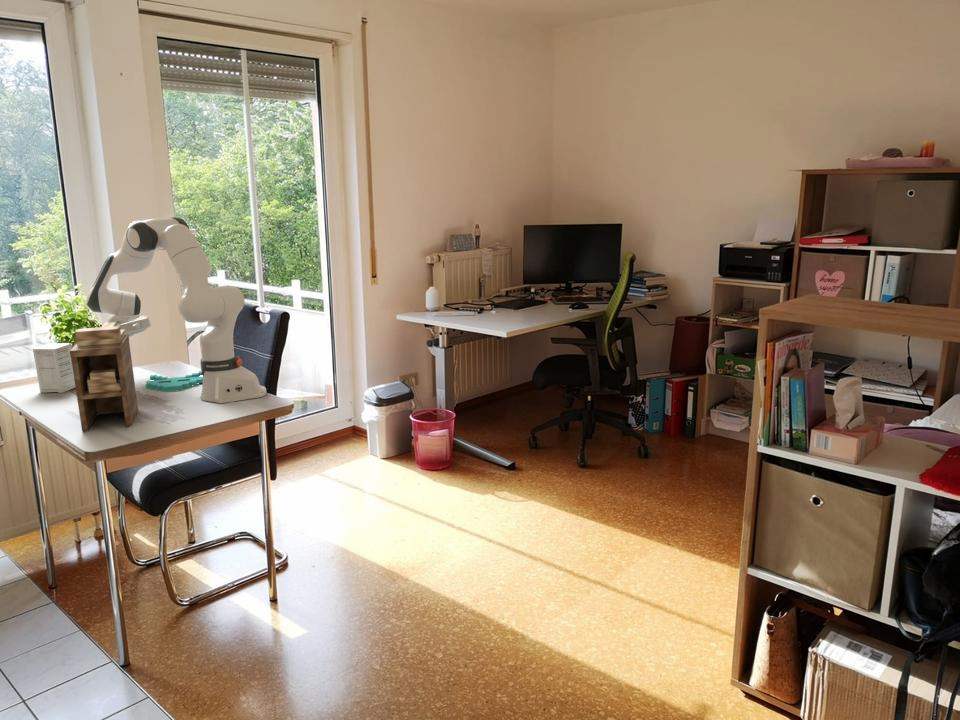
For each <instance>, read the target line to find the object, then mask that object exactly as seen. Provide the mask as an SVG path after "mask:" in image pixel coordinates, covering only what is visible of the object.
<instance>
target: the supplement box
mask: <svg viewBox="0 0 960 720" xmlns="http://www.w3.org/2000/svg"><path fill="white" fill-rule="evenodd" d="M72 348H73V345H72V343H58V342H57V343H56V342H55V343H54V342H51V343H46V344H44V345H40V346H38V347H34V348H32V352H33V358H34V363H35V369H36V374H37V375H36V376H37V381H38V388H39V392H40V393H47V392H58V393H60V394H62V393H65V392H68V391H71V390H72V389H73V390H74V389H76V387H75V381H74V374H73V367H72V361H71V357H70V350H71V349H72ZM58 393H57V394H58Z"/></svg>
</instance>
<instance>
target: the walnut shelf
mask: <svg viewBox="0 0 960 720" xmlns="http://www.w3.org/2000/svg"><path fill="white" fill-rule="evenodd" d="M131 354H132V353H131V343H130V337H129V335H125V336H124V337H123V339H122V340H121V342H120V343H112V344H99V345H86V346H77V343H76V344H75V345H74V346H72V349H71V350H70V357H71V361H72V367H73V374H74V381H75V393H76V398H77V407H78V413H79V419H80V424H81V425H80V426H81V432H82V431H83V432H82V433H86V432H85V431H88V432H89V430H90V428H91V426H92V425H91V424H93V423H94V421H95V419H96V418H97V416H98V415H99V416H100V415H106V414H107V415H109V414H118V413H119V414H120V413H123V414H124V420H125V427H126V428H131V427H130V426H132V427H133V424H134V422H133V421H135V419H136V417H135V416H137V413H138V412H139V411H138V410H139V406H138V398H137V390H136V384H135V375H134V370H133V369H134V368H133V361H132V360H133V359H132V355H131Z"/></svg>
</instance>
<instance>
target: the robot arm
mask: <svg viewBox="0 0 960 720" xmlns="http://www.w3.org/2000/svg"><path fill="white" fill-rule="evenodd" d="M155 251H166V253H167V256H168V257H169V259H170V261H171V263H172V265H173V267H174V269H175V271H176V273H177V275H178V277H179V279H180V284H181V287H182V288H181V289H182V290H181V291H182V292H181V293H182V294H181V297H180V299H179V301H178V312H179V315H180V317H181V318H182V319H183V320H184V321H185V322H188V323H193V324H195V323H197V324H198V323H199V324H202V323H207V324H206V326H205V329H204V331H203V332H202V333H201V334H200V335H199V336H200V337H199V349H200V356H201V358H200V363H199V364H200V365H199V366H200V371H201V373H202V375H203V384H202V390H201V393H200V394H201V395H200V399H201V400H202V401H206V402H211V403H212V402H214V403H218V404H225V403H232V402H238V401H243V400H251V399H257V398H258V399H259V398H262V397H264V396H266V394H267V388H266V386H265V385H262V384H260V381H259V378H258V377H257V375H256V374H255V373H254V372H252V371H251V370H249V369H247V368H246V367H244V366H243V365H242V364H243V361H242V359H241V357H240V356H236V355H235V348H234V329H235V325H236V322H237V318H238V316H239V314H240V313H241V311H242V310H243V308H244V307H245V296H244V294H243V292H242V290H241V289H239V288H238V287H237V286H234V285H233V286H232V285H231V286H230V285H219V286H216V287H211V286H210V283H209V280H208V277H209V276H210V274H211V272H212V265H211V263H210V262H209V259H208V258H207V256H206V254H205V251H204V250H203V248H202V246H201V244H200V243H199V242H198V240H197V238H196V237H195V234H193V232H192V231H191V230H190V227H189V225H188V223H187V222H186V221H185V220H184V219H183V218H181V217H176V216H175V217H173V216H171V217H163V218H162V217H160V218H156V217H155V218H150V219H145V220H136V221H135V220H134V221H133V222H132V223H130V224H129V226H127V229H126V231H125V233H124V235H123V238H122V241H121V246H120V248H119V249H118V250H117V251H116V252H114V253H110V254H109V255H108V256H107V258H106V260H105V261H104V262H103V265H102V267H101V269H100V271H99V272H98V275H97V277H96V278H95V279H96V280H95V281H94V283H93V285H92V286H91V288H90V290H89V291H88V293H87V295H86V301H85V302H86V306H87V307H88V308H89V310H91V311H92V312H93V313H99V314H100V313H101V314H103V313H104V314H109V315H112V316H111V317H110V318H109V319H108V321H107V323H108V322H116V324H117V326H120V330H124V329H125V333H126V334H125V335H129V338H130V337H132V336H135V335H136V334H140V333H142V332H144V331H147V329H150V328H151V326H152V325H151V324H152V323H151V321H150V318H149V317H148V316H146V315H143V314H142V313H141V309H142V308H141V307H142V306H141V305H142V302H141V299H140V297H139V296H138V294H137V293H135V292H130V291H127V290H125V291H124V290H119V289H115V288H110V287H108V284H109V282H110V281H111V279H112V277H113V276H115V275H119V274H124V273H125V274H126V273H128V274H131V273H138V272H142V271H144V270H145V269H148V267H149V266H150V265H151V263H152V260H153V258H154V254H155Z"/></svg>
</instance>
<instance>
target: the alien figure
mask: <svg viewBox="0 0 960 720" xmlns="http://www.w3.org/2000/svg"><path fill="white" fill-rule="evenodd" d="M200 375H202V373H201V370H200V371H198V372H193V373H191V374H186V375H185V376H176V377H175V376H174V377H169V376H163V375H157V374H150V375H149V380H147V381H146V383H145V389H146V388H147V389H151V390H152V389H153V390H156V391H157V390H160V391H162V392H163V391H166V392H173V391H172V390H178V391H183V388H184V389H189V388H190V387H193V386H192V385H196V386H197V384H196V383H203V377H199V376H200ZM150 380H154V381H150ZM189 386H190V387H189ZM188 387H189V388H188Z"/></svg>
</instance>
